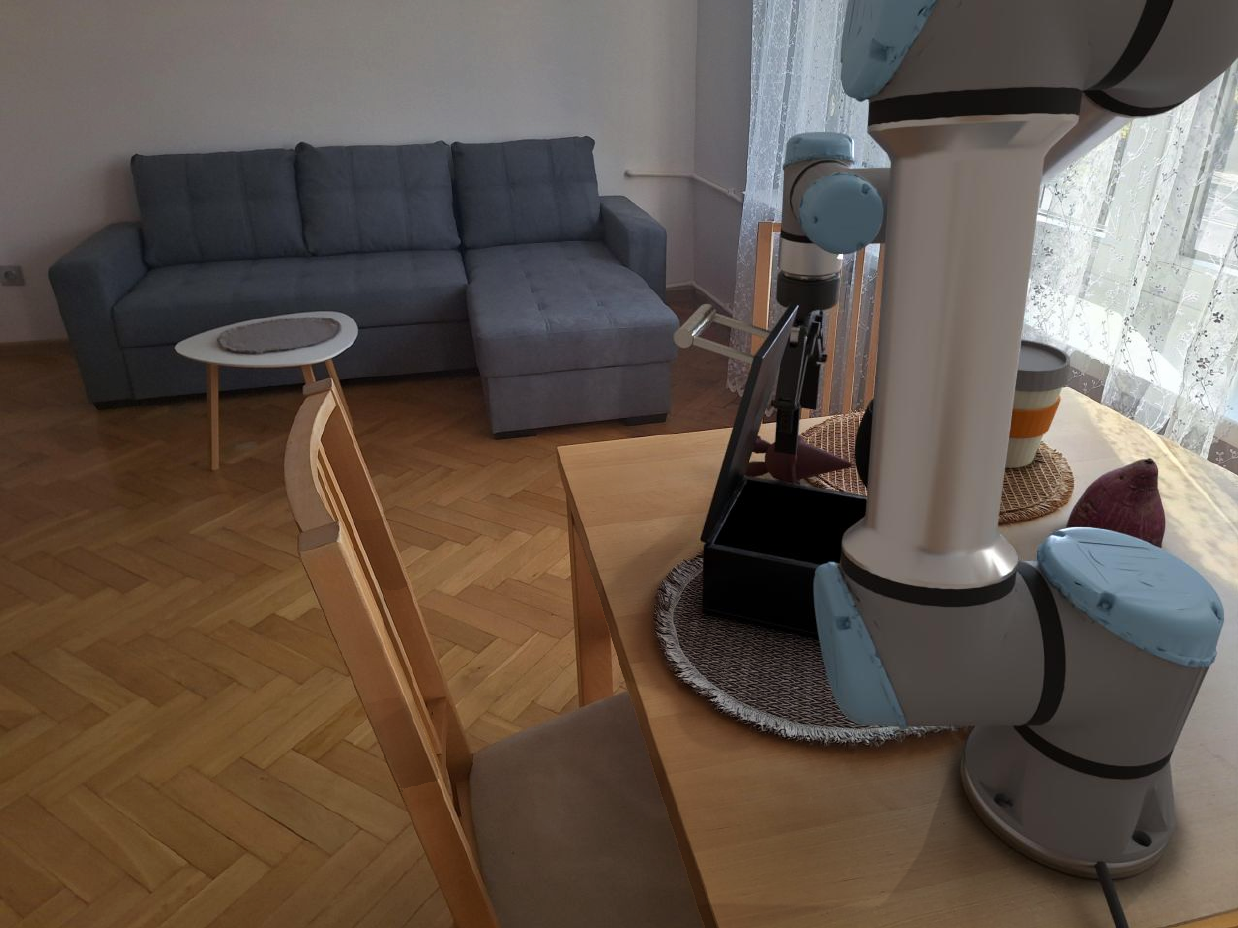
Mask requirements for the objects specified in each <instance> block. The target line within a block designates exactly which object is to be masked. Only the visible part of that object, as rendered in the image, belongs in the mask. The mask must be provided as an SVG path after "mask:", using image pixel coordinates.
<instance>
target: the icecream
mask: <svg viewBox="0 0 1238 928" xmlns="http://www.w3.org/2000/svg"><path fill="white" fill-rule="evenodd" d="M774 448H775V441H773V442H772V443H770V442H769V441H767V440H765V439H762V437H761V436H760V435H758V436H757V439H756V442H755V445H754V448H753V452H752V453H754V454H757V455H758V454H761V455H763V454H764V461H758V460H757V461H756V460H752V461H749V464H748V467H747V471H746V473H745V475H744V476H749V477H756V478H757V477H761V476H765V475H767V474H769V475H770V476H771V477H772V478H773V479H775V481H780V482H786V483H792V484H798V485H801V483H802V482H801V480H805V479H808V478H812V477H816V476H820V475H821V476H822V475H824V474H829V473H832V472H836V471H841V470H846V469H850V468H852V466H853V462H850V461H848V460H847V459H845V458H843V457H840V456H837V455H835V454H833V453H831V452H828V451H826V450H824V449H822V448H819V447H817V446H814V445H813V444H810V443H807V442H805V441H804V438H803V436H801V435H800V434H798V444H797V453H796V455H792V454H786V453H780V452H774Z"/></svg>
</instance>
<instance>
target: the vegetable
mask: <svg viewBox="0 0 1238 928" xmlns="http://www.w3.org/2000/svg"><path fill="white" fill-rule="evenodd" d="M1158 486H1159V468H1158V464H1157V463H1156V462H1155V461H1154V459H1153V458H1151V457H1148V458H1142V459H1138V460H1136V461H1133V462H1132V463H1129V464H1126V465H1124V466H1121V467H1117V468H1115V469H1112V470H1110V471H1108V472H1106V473H1104V474H1102V475H1100V476H1099V477H1098V478H1096V479H1095V480H1094V481H1093V482H1091V484H1090V485H1088V486H1087V488H1086V489H1085V491H1084V492H1083V493H1082V495H1081V496H1080V498H1079V499H1078V500H1077V502H1076V503H1075V504H1074V506H1073V508H1072V509H1071V512H1070V514H1069V517H1068V519H1067V522H1066V526H1065V528H1071V527H1090V528H1099V529H1105V530H1110V531H1115V532H1118V533H1122V534H1126V535H1129V536H1132V537H1135V538H1138V539H1141V540H1143V541H1146V542H1148V543H1150V544H1152V545H1154V546H1156V547H1159V548H1161V549H1163V548H1162V547H1163V542H1164V541H1163V540H1164V537H1165V532H1166V524H1167V523H1166V515H1165V508H1164V505H1163V501H1162V497H1161V494H1160V491H1159V488H1158Z"/></svg>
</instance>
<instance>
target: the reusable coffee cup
mask: <svg viewBox="0 0 1238 928" xmlns="http://www.w3.org/2000/svg"><path fill="white" fill-rule="evenodd" d="M1070 365H1071V357H1070V355H1068V353H1066V352H1065V351H1064V350H1062V349H1060V348H1058V347H1056V346H1053V345H1051V344H1048V343H1045V342H1039V341H1035V340H1030V339H1022V338H1021V346H1020V354H1019V362H1018V370H1017V377H1016V385H1015V393H1014V401H1013V409H1012V417H1011V425H1010V433H1009V441H1008V449H1007V457H1006V465H1005V468H1010V469H1011V468H1022V467H1025V466H1028V465H1030V464H1031V463H1032V462H1033V461H1034V460H1035V457H1036V454H1037V451H1038V449H1039V446H1040V444H1041V441H1042V438H1043V437H1044V435H1046V433H1048V432H1049V431H1050V428H1051V425H1052V423H1053V420H1054V418H1055V416H1056V413H1057V410H1058V408H1059V406H1060V403H1061V402H1062V401H1061V400H1062V399H1061V398H1062V397H1061V395H1060V394H1061V392H1062V389H1063V387H1064V386H1066V384H1068V381H1069V376H1070V375H1069V374H1070Z"/></svg>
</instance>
